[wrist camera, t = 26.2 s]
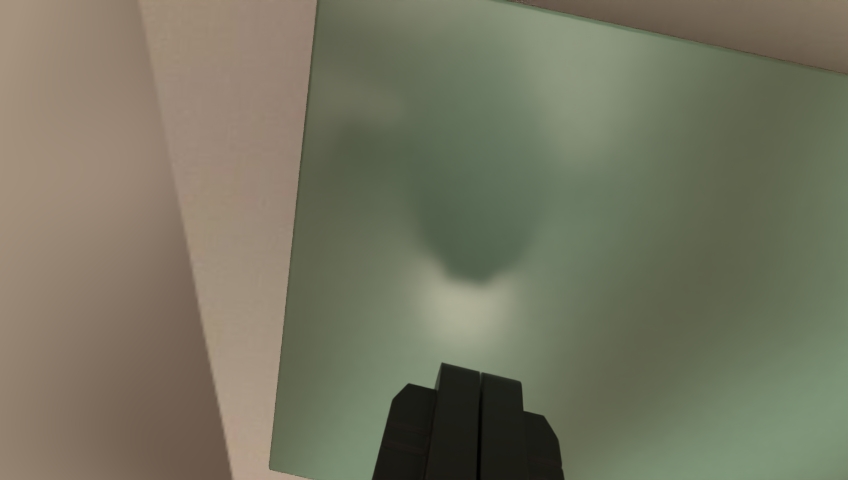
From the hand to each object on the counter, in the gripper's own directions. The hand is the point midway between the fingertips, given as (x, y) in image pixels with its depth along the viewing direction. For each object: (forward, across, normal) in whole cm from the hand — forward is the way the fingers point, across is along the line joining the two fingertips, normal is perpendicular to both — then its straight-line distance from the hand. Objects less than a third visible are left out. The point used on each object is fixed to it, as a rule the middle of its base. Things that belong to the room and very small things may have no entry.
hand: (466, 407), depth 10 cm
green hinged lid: (+4, -4, 0) cm, 5 cm away
